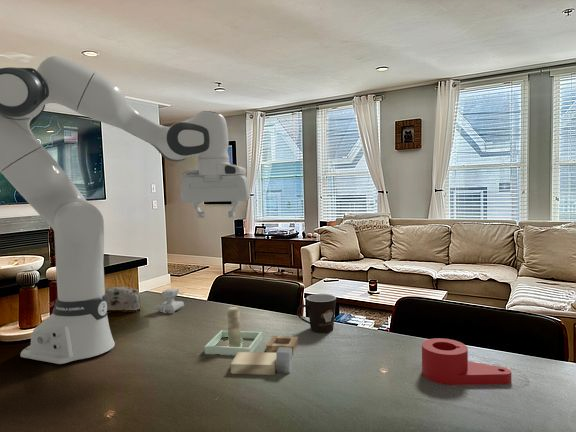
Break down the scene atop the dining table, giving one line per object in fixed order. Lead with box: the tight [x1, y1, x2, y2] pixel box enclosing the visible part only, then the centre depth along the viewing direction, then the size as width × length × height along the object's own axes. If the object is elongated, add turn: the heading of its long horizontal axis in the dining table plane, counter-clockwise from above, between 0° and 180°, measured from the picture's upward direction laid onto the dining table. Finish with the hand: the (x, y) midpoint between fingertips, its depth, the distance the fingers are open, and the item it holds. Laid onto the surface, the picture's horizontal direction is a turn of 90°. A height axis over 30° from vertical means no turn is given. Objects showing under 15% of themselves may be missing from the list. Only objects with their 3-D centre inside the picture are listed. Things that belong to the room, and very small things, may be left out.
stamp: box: [156, 288, 185, 314], centre depth 144 cm, size 9×7×8 cm
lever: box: [421, 337, 512, 386], centre depth 91 cm, size 18×9×7 cm, turn 75°
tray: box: [204, 329, 263, 357], centre depth 111 cm, size 12×12×2 cm
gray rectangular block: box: [276, 347, 293, 374], centre depth 96 cm, size 3×3×5 cm
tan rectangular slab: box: [230, 351, 277, 376], centre depth 98 cm, size 10×7×3 cm
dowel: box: [226, 306, 241, 347], centre depth 111 cm, size 3×3×10 cm
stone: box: [105, 286, 141, 310], centre depth 145 cm, size 13×6×10 cm, turn 76°
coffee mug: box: [296, 293, 337, 334], centre depth 122 cm, size 12×9×10 cm
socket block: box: [265, 335, 299, 355], centre depth 109 cm, size 7×7×2 cm
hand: (216, 217), depth 121 cm, fingers open, 8 cm apart
